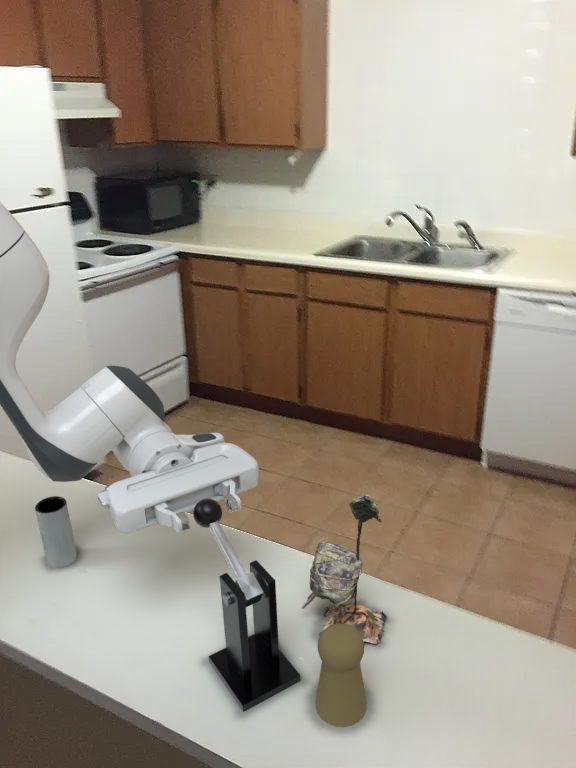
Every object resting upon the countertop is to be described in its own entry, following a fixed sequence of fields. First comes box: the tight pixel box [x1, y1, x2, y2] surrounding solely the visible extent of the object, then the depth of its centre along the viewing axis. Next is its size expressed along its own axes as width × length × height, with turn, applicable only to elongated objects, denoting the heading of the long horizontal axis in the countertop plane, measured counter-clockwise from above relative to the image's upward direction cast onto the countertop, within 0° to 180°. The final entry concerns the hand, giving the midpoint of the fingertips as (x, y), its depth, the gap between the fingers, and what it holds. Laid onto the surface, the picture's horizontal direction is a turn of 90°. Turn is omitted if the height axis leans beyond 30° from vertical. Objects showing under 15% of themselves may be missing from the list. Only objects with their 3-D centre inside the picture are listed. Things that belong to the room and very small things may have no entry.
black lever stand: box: [208, 559, 302, 713], centre depth 80 cm, size 9×8×15 cm
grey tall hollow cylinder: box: [34, 495, 78, 569], centre depth 102 cm, size 4×4×10 cm
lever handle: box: [192, 499, 264, 608], centre depth 81 cm, size 14×4×4 cm, turn 33°
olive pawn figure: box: [314, 623, 367, 728], centre depth 76 cm, size 6×6×11 cm
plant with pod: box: [301, 494, 388, 645], centre depth 86 cm, size 8×11×20 cm
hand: (210, 516), depth 82 cm, fingers open, 6 cm apart
